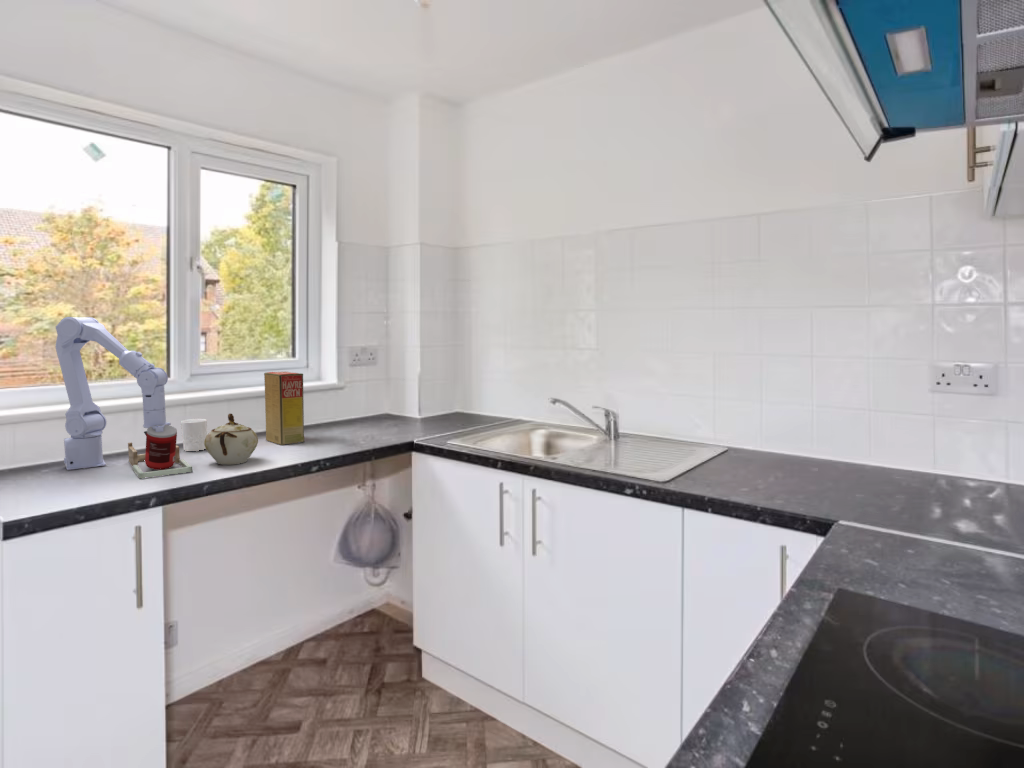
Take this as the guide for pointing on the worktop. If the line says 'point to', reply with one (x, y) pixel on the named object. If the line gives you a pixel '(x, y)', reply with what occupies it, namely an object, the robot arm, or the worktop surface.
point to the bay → (164, 472)
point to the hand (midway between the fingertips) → (156, 454)
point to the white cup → (194, 434)
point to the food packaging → (284, 407)
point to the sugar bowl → (231, 443)
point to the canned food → (160, 448)
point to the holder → (135, 458)
